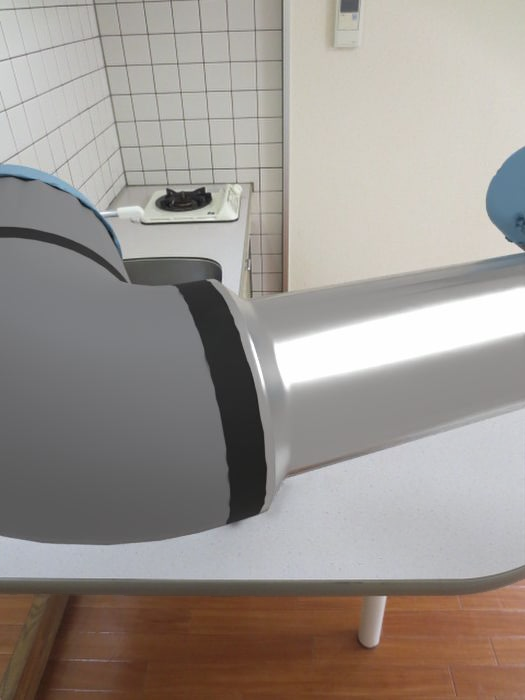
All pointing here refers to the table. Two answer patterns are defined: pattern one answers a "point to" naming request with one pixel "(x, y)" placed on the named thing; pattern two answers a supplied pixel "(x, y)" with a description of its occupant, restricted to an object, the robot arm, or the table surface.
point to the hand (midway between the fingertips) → (340, 406)
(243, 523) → the table surface
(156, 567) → the table surface
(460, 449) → the table surface
